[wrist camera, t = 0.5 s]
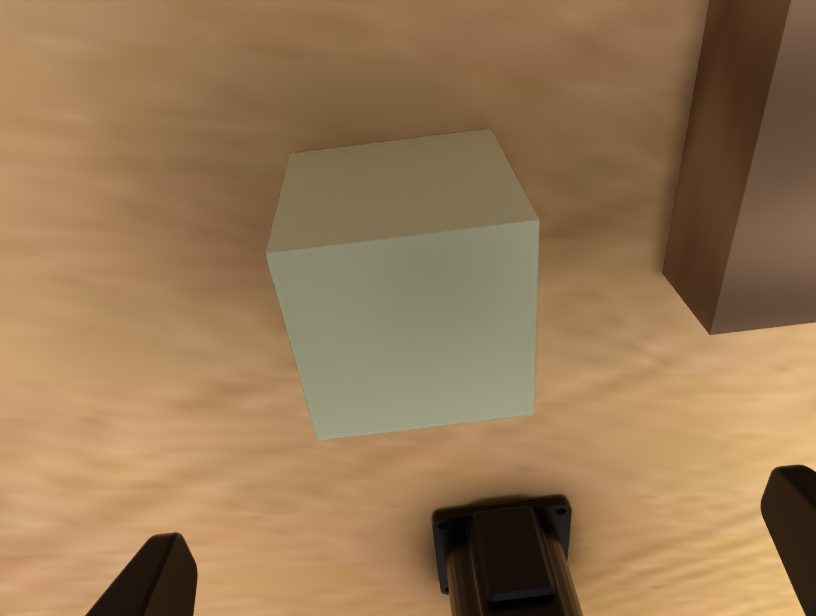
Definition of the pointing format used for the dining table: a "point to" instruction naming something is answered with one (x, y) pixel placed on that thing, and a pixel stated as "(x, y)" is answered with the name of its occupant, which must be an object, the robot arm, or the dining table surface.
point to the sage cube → (408, 283)
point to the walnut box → (749, 171)
